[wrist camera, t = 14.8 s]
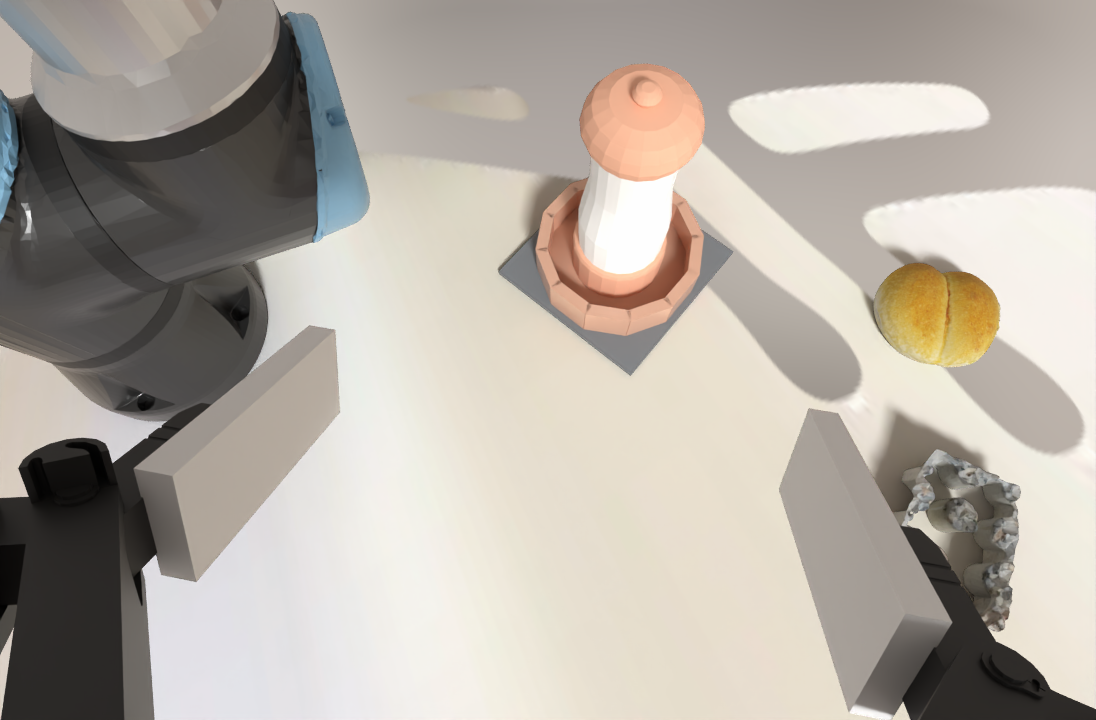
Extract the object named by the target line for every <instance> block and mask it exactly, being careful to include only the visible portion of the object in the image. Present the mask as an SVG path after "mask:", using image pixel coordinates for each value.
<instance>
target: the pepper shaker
mask: <svg viewBox="0 0 1096 720" xmlns="http://www.w3.org/2000/svg"><path fill="white" fill-rule="evenodd" d="M704 129H705V122H704V114H703V108H702V103H701V101H700V100H699V98H698V96H697V94H696V93H695V91H694V89H693V88H692V86H691V85H690V84H689V83H688V82H687V81H686V80H685V79H684V78H683V77H681V76H680V75H679V74H678V73H676V72H674V71H672V70H670V69H668V68H665V67H663V66H658V65H651V64H634V65H629V66H626V67H623V68H620V69H617V70H615V71H614V72H612V73H611V74H609V75H608V76H607V77H605V78H604V79H602V80H601V81H599V82H598V83H597V84H596V85H595V87H594V88H593V89H592V91H591V92H590V93H589V95H588V96H587V98H586V101H585V103H584V106H583V109H582V113H581V116H580V131H581V137H582V139H583V141H584V143H585V145H586V148H587V150H588V152H589V154H590V156H591V161H590V173H589V178H588V181H587V183H586V186H585V189H584V192H583V195H582V198H581V202H580V205H579V209H578V221H577V222H576V226H575V229H574V233H573V249H572V257H573V267H574V269H575V272H576V274H577V276H578V278H579V279H580V280H581V282H582V283H583V284H584V285H585V286H586V287H587V288H588V289H590V290H592V291H594V292H595V293H597V294H599V295H602V296H606V297H611V298H624V297H630V296H632V295H635V294H638V293H640V292H642V291H643V290H644V289H645V288H647V287H648V286H649V285H650V284H651V283H652V282H653V280H654V278H655V277H656V275H657V274H658V271H659V268H660V266H661V263H662V260H663V257H664V254H665V250H666V245H667V236H666V234H667V232H668V229H669V225H670V221H671V216H672V194H673V185H674V182H675V178H676V175H677V172H678V170H679V169H680V168H681V167H683V166H684V165H685V164H686V163H688V162H689V161H690V160H691V159H692V157H693V156H694V154H695V153H696V151H697V150H698V148H699V147H700V145H701V143H702V138H703V134H704Z"/></svg>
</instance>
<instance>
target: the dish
mask: <svg viewBox="0 0 1096 720" xmlns="http://www.w3.org/2000/svg"><path fill="white" fill-rule="evenodd" d="M587 181H588V178H586V179H583V180H580V181H577V182H574V183H571V184H570V185H569V186H568V187H567V188H566V189H565V190H564V191H563V192H562V193H561V194H560V195H559V196H558V197H557V198H556V199H555V200H554V201H553V202H552V203H551V205H550V206H549V207H548V208H547V209H546V210H545V211H544V212H543V216H542V221H541V226H540V230H539V235H538V240H537V245H536V262H537V270H538V272H539V275H540V277H541V280H542V283H543V285H544V288H545V290H546V293H547V295H548V298H549V300H550V303H551V304H552V305H553V306H554V307H555V308H557V309H558V310H559V311H561V312H562V313H563V314H564V315H566V316H567V317H568V318H570V319H571V320H572V321H574V322H575V323H576V324H577V325H579V326H580V327H581V328H583V329H585V330H591V331H598V332H604V333H610V334H616V335H622V336H628V335H630V334H633V333H636V332H639V331H642V330H645V329H648V328H651V327H653V326H656V325H659V324H662V323H665V322H666V321H667V320H668V319H669V318H670V316H671V315H672V314H673V313H674V312H675V310H676V309H677V308H678V307H679V306H680V304H681V303H682V302H683V301H684V300H685V299H686V297H687V296H688V295H689V294H690V293H691V291H692V289H693V287H694V285H695V283H696V281H697V279H698V277H699V275H700V266H701V257H702V249H703V240H704V235H703V233H702V231H701V229H700V227H699V225H698V223H697V221H696V219H695V217H694V215H693V213H692V211H691V209H690V207H689V205H688V203H687V201H686V200H685V199H684V198H682V197H681V196H680V195H678V194H677V193H675V192H674V191H673V194H672V216H671V221H670V225H669V229H668V232H667V234H666V236H667V245H666V250H665V254H664V257H663V260H662V263H661V266H660V268H659V271H658V274H657V275H656V277H655V278H654V280H653V282H652V283H651V284H650V285H649V286H648V287H647V288H645V289H644V290H643V291H642V292H640V293H638V294H635V295H632V296H630V297H624V298H611V297H606V296H602V295H599V294H597V293H595V292H594V291H592V290H590V289H588V288H587V287H586V286H585V285H584V284H583V283H582V282H581V280H580V279H579V278H578V276H577V274H576V272H575V269H574V267H573V257H572V249H573V233H574V229H575V226H576V222H577V221H578V209H579V205H580V202H581V198H582V195H583V192H584V189H585V186H586V183H587Z"/></svg>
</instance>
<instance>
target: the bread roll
mask: <svg viewBox="0 0 1096 720" xmlns="http://www.w3.org/2000/svg"><path fill="white" fill-rule="evenodd" d="M874 315H875V319H876V322H877V324H878V327H879V329H880V330H881V332H882V334H883V335H884V337H885V338H886V339H887V341H888V342H889V343H890V345H891V346H892V347H893V348H894V349H895V350H897V351H898V352H899V353H901V354H902V355H904V356H906V357H908V358H910V359H912V360H914V361H917V362H921V363H926V364H936V365H939V366H942V367H958V366H965V365H968V364H972V363H974V362H976V361H977V360H978V359H980V358H981V356H982V355H983V354H984V353H985V352H986V351H987V349H988V348H989V347H990V345H991V343H992V342H993V339H994V337H995V335H996V333H997V331H998V329H999V321H1000V305H999V303H998V301H997V298H996V296H995V294H994V292H993V291H992V289H991V288H990V287H989V286H988V285H987V284H986V283H984V282H983V281H982V280H980V279H979V278H978V277H976V276H974V275H972V274H970V273H966V272H946V273H940V272H939V271H938V270H936V269H935V268H934V267H932V266H930V265H927V264H923V263H912V264H908V265H905V266H903V267H901V268H899V269H897V270H895V271H894V272H893V273H891V274H890V275H889V276H888V277H887V278H886V279H885V281H884V282H883V283H882V284H881V285H880V287H879V289H878V291H877V293H876V295H875V299H874Z"/></svg>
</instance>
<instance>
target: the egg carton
mask: <svg viewBox="0 0 1096 720" xmlns="http://www.w3.org/2000/svg"><path fill="white" fill-rule="evenodd" d="M933 466H934V467H936V469H937V470H938V475H939V478H940V480H941V481H942V483H943V484H944V485H945V486H946V487H948V488H950V489H954V490H959V489H965V488H971V487H976V486H982V487H983V493H984V496H985V499H986V500H987V501H988V502H989V503H990V504H991V505H992V506H994V516H993V518H992V519H985V520H981V521H979V522H977V518H978V514H977V512H976V510H975V509H974V507H973V506H972V504H970V503H969V502H968V501H966V500H965V499H964V498H951V499H945V500H938V501H935V502H933V503H931V502H932V501H933V500H934V499H935V494H934V492H933V489H934V488H932V487H931V486H930V484H931V483H929V482H928V481H927V480H926V479H925V476H927V475H930V474H932V473H933V471H934V468H933ZM902 482H903V483H904V484H905V485H906V486H907V487H908V488H909V489H910V490H911V492H912V494H913V500H912V501H911V503H910V504H909V506H908V509H907V511H900V512H893V515H894V516H895V518H896V520H897V522H898V524H899V525H900V526H906V527H910V526H908V525H907V523H908V521H910V520H912V519H913V514H916V513H918V511H925V510H927V509H928V510H927V516H928V519H929V521H930V523H931V525H932V526H933V527H934V528H935V529H937V530H938V531H941V532H947V533H948V532H973V534H974V539H975V541H976V543H977V544H978V545H979V546H980V547H981V548H982V549H983V563H982V564H972V565H970V566H968V567H967V568H966V569H965V571H964V573H963V580H964V584H965V587H966V588H967V589H968V590H969V592H970V593H971V594H973V595H974V602H973V604H974V606H975V608H976V609H977V611H978V613H979V614H980V616H981V618H982V619H983V621H984V623H985V624H986V626H987V628H988V629H991V630H993V631H996V632H999V631H1001V630H1003V629H1004V628H1005V620H1006V619H1008V617H1009V607H1010V605H1011V602H1012V588H1011V587H1010V586H1009V581H1010V578H1011V575H1012V573H1013V571H1014V567H1015V566H1014V564H1013V559H1014V555H1015V548H1016V545H1017V543H1018V540H1019V534H1018V519H1017V515H1018V509H1017V507H1016V504H1015V501H1016V500H1017V499H1019V498H1020V494H1021V491H1020V486H1018V485H1015V484H1011V483H1008V482H1005V481H1003V480H1001V479H999V476H997V475H995V474H992V473H989V472H986V471H984V470H982V469H981V468H980V467H977V466H974V465H972V464H970V463H968V462H967V461H965V460H962V459H959V458H955V457H952V456H950V455H949V454H948V453H946V452H944V451H941V450H938V449H937V450H935V451H934V452H933V454H932V455H931V456H930V457H929V458H928V460H927V461H926V462H925V463H924V464H923V466H922V467H916V468H912V469H907V470H905V471H904V474H903V478H902ZM910 512H913V514H910ZM911 528H912V527H911ZM939 548H940V547H939ZM940 550H941V551H942V553H943V555H944V556H945V558H946V559H947V561H949V560H948V558H947V555H946V554H945V552H944V551H943V550H942V549H941V548H940Z"/></svg>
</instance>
